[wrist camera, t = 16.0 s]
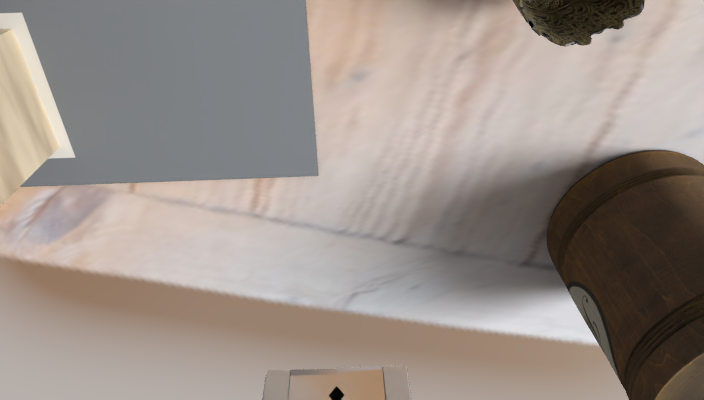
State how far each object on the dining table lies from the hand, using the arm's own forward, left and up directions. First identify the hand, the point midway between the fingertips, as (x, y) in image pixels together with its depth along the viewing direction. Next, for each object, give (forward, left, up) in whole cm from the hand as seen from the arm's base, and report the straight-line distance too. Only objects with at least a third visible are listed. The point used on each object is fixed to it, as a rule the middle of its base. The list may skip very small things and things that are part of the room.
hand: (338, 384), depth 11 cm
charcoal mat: (0, -18, -29) cm, 34 cm away
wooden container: (+22, +22, -29) cm, 43 cm away
